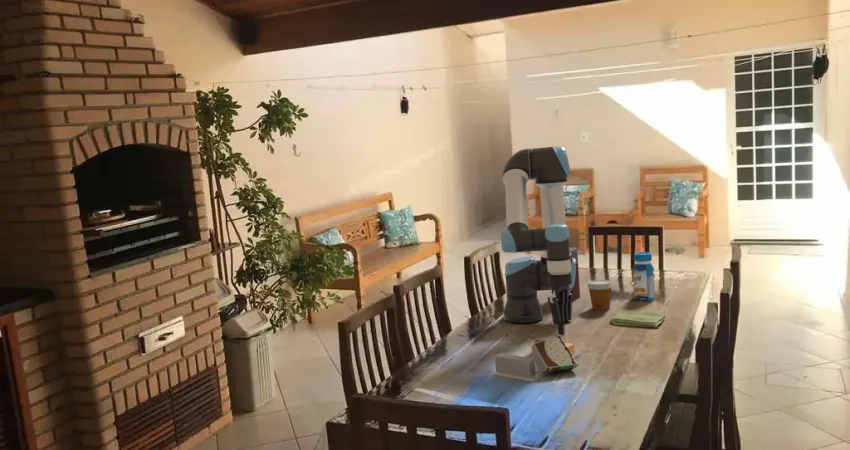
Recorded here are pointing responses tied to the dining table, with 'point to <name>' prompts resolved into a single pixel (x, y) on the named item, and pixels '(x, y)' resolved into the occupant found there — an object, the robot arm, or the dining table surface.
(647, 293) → the beverage bottle
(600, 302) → the disposable coffee cup
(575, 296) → the toy vending machine
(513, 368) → the vise
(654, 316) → the washcloth
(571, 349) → the block
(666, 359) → the dining table surface
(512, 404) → the dining table surface
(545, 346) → the food container
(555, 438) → the dining table surface
